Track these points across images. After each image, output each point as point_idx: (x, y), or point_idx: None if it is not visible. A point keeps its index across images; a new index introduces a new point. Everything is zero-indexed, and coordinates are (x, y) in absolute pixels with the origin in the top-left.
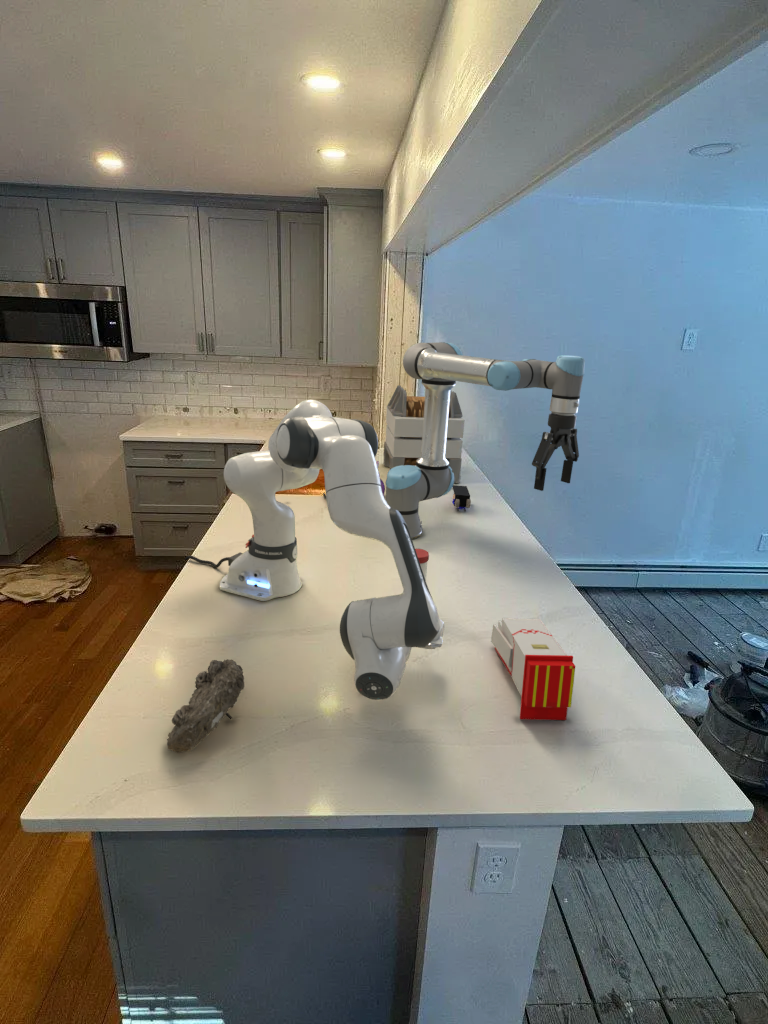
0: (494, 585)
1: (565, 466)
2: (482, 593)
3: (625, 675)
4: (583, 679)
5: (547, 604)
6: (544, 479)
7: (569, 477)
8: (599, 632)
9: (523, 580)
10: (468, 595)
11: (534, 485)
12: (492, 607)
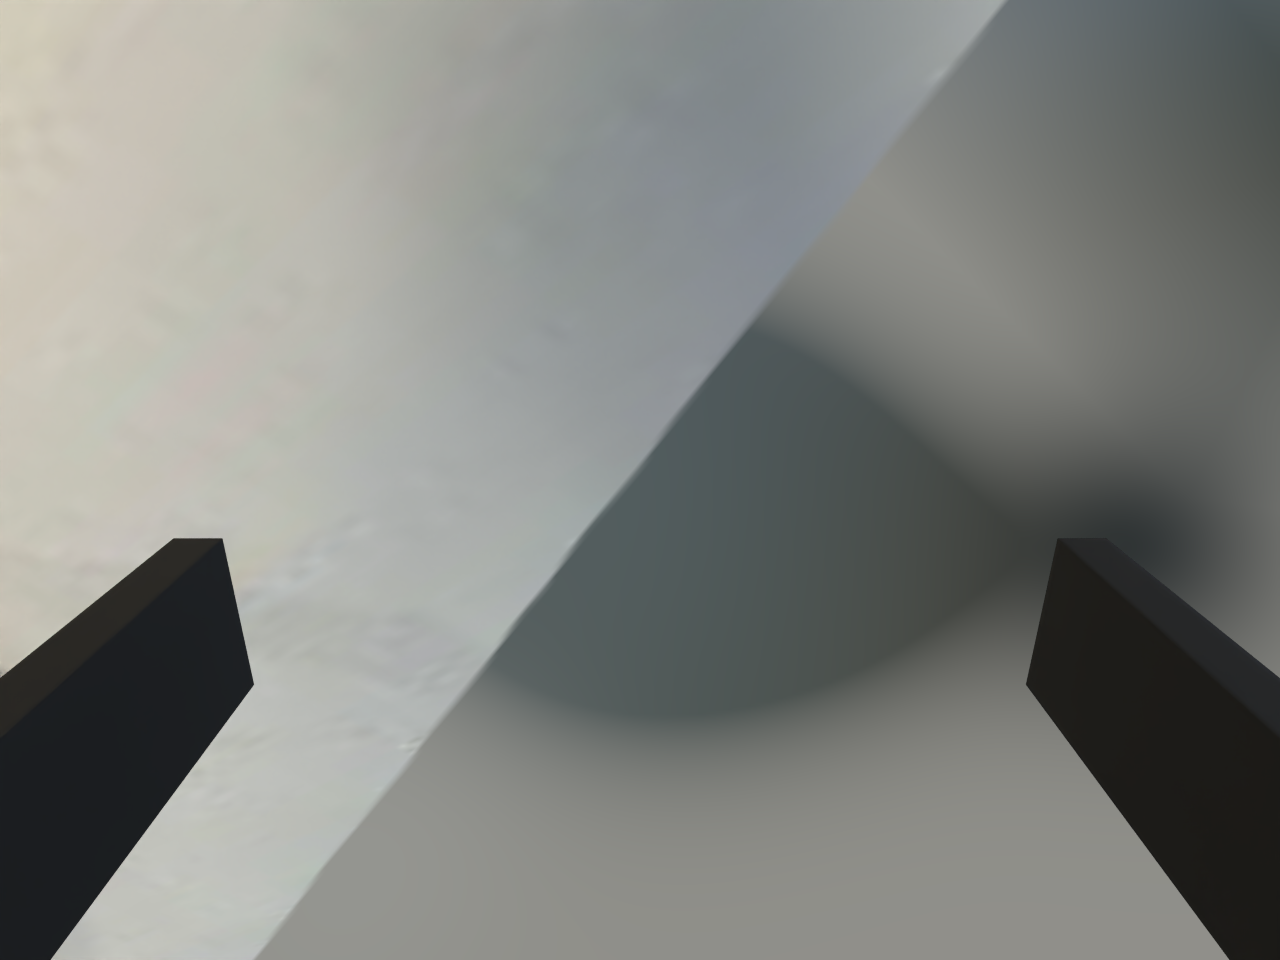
0: (253, 254)
1: (1271, 815)
2: (117, 279)
3: (217, 940)
4: None
5: (360, 556)
6: (119, 841)
7: (1085, 759)
8: (368, 791)
9: (464, 319)
10: (21, 245)
11: (138, 572)
12: (71, 416)
